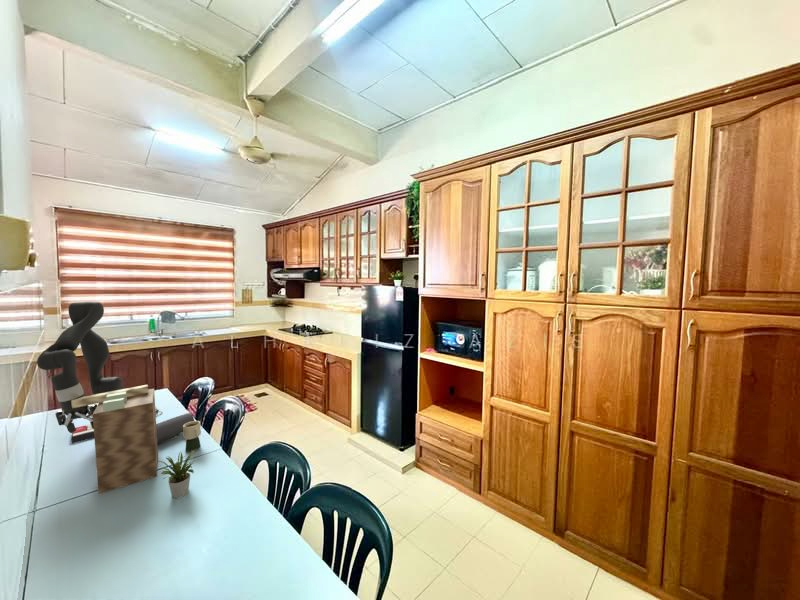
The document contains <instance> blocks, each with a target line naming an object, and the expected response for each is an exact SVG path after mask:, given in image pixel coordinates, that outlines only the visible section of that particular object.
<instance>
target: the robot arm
mask: <svg viewBox="0 0 800 600" xmlns="http://www.w3.org/2000/svg"><path fill="white" fill-rule="evenodd" d="M104 313H105V308H104V305H103V304H102V303H101V302H99V301H77V302H76V301H74V302H71V303H70V304H69V306H68V316H69V318H70V321H71V323H72V325H71V326H69V327H68V328H66V329H64V330H63V331H62V332H61V333H60V335H59V336H58V337H57V339H56V341H55V342H54V343H53V344H51V345H50V346H49V347H47V348H46V349H45V350H43V351H42V352H41V353H40V354H39V356H38V357H37V360H36V364H37V367H38V368H39V369H41V370H42V371H43V370H44V371H50V370H56V369H61V368H62V371H61V372H59V373H56V374H54V375H52V377H51V378H50V379H51V383H52V386H53V388H54V391H55V395H56V398H57V401H58V403H59V407H60V408H61V409H60V410H58V411H57V412H55V418H56V420H57V423H58V425H59V426H64V427H66V429H67V432H69V434H72V433H73V432H74V431H76V428H77V427H76V426H75V423H74V420H77V419H84V420H88V421H89V423H90V424H91V426H92V429H94V426H93V413H94V411H95V409H96V407H97V406H98V403H96V404H92V405H86V406H81V407H76V408H72V403H71V401H72V400H75V399H78V398H81V397H85V396H86V394H85V391H84V389H83V387H82V385H81V383H80V380H79V378H78V375H77V354H76V353H75V351H77V349H78V347H79V346H80V350H81V353H82V355H83V359H84V362H85V364H86V368H87V372H88V378H89V383H90V388H91V393H92V395H95V394H100V393H106V392H111V391H116V390H121V389H123V381H122V378H121V377H120V376H110V377H104V376H103V372H102V371H103V368H104V367H105V364H106V362H107V361H108V359H109V357H110V348H109V346H108V342H107V341H106V339H104V338H103V337H101V335H99V334H98V333H96V332H95V331H94V330H92V328H94V327H95V325H97V323H98V322H99V321H100V320H101V319H102V318H103V316H104Z"/></svg>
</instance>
